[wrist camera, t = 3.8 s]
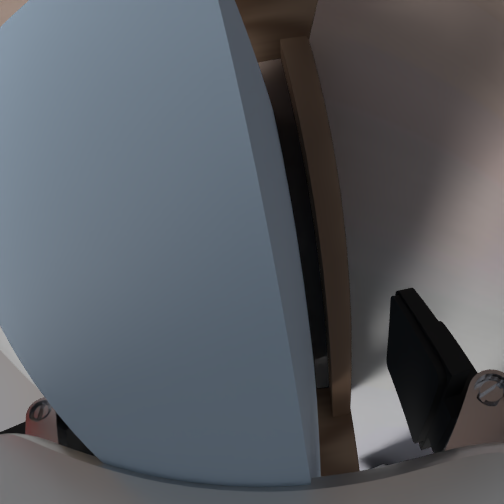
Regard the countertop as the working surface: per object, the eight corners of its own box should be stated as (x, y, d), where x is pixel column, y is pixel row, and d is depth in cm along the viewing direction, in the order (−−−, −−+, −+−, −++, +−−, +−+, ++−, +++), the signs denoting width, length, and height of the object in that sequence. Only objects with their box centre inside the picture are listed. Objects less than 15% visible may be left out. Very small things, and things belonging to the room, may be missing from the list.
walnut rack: (300, 36, 12) (315, -86, 3) (345, 394, 20) (360, 505, 11) (36, 133, 15) (-77, 152, 6) (137, 400, 23) (96, 482, 14)
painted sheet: (273, 113, 14) (194, -89, 1) (313, 360, 19) (320, 558, 6) (218, 124, 14) (-52, 91, 1) (271, 365, 20) (249, 559, 6)
